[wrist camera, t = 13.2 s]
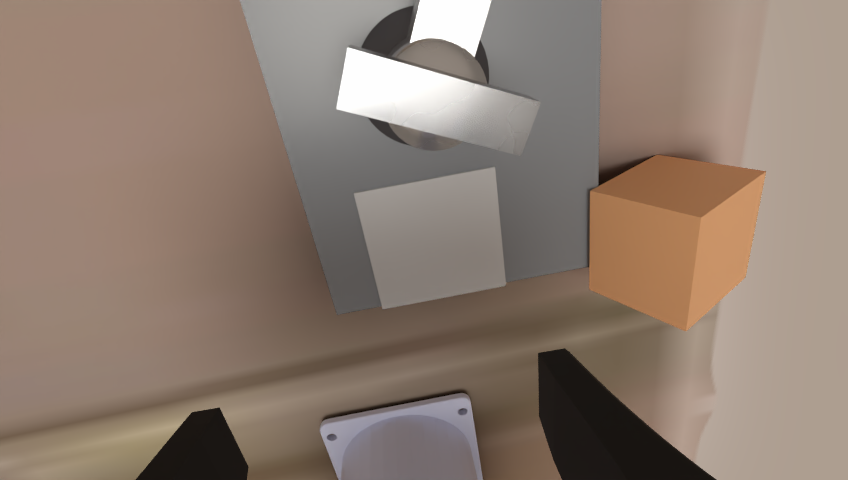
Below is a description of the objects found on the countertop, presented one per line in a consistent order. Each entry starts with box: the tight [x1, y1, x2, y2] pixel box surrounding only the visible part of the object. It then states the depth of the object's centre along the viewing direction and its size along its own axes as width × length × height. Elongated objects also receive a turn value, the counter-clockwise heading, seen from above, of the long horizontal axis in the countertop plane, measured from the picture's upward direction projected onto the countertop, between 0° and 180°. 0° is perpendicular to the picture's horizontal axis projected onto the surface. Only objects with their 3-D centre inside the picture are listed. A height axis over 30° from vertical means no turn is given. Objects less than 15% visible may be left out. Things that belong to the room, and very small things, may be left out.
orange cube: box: [589, 155, 766, 331], centre depth 18 cm, size 4×4×4 cm
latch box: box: [240, 0, 601, 315], centre depth 17 cm, size 14×11×2 cm
